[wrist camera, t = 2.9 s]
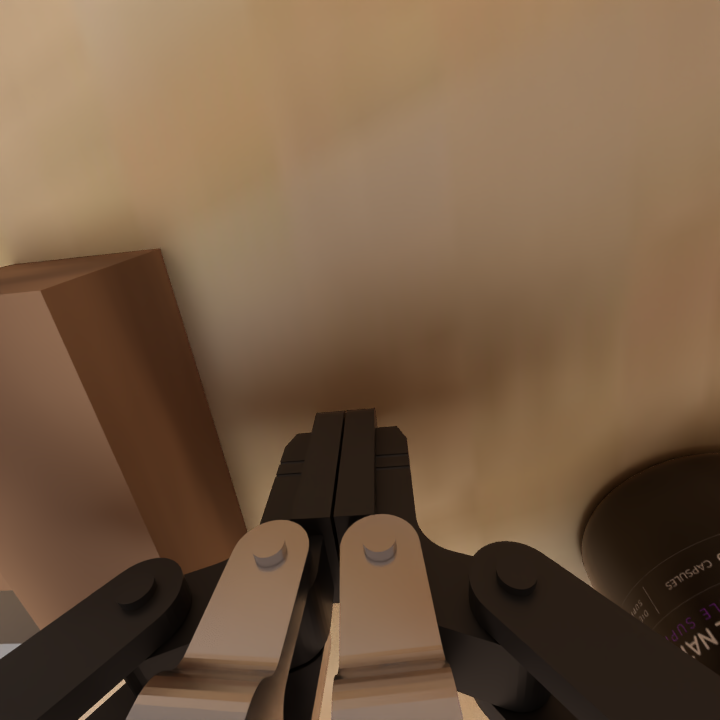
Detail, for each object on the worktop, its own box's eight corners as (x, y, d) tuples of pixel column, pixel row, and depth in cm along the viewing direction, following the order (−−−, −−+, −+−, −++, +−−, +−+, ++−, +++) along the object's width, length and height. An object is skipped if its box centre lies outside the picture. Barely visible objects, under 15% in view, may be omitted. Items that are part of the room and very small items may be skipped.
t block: (160, 248, 10) (40, 290, 6) (248, 536, 14) (206, 660, 11) (-194, 287, 11) (-479, 344, 7) (-12, 549, 15) (-135, 669, 11)
